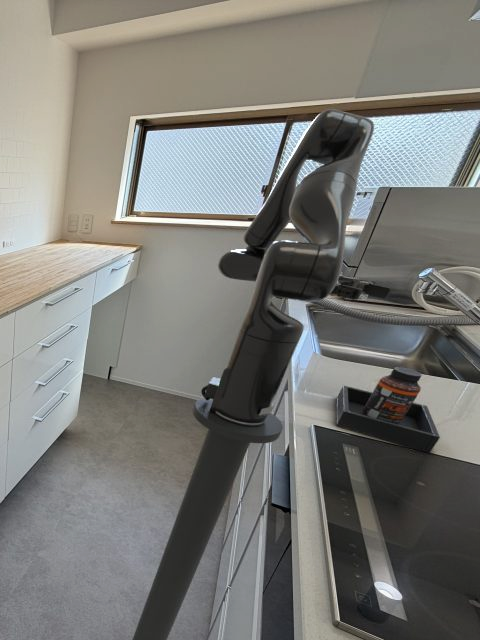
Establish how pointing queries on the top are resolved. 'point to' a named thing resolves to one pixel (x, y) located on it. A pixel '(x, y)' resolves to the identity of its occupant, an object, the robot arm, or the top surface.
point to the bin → (410, 432)
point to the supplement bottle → (393, 395)
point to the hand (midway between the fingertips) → (374, 294)
